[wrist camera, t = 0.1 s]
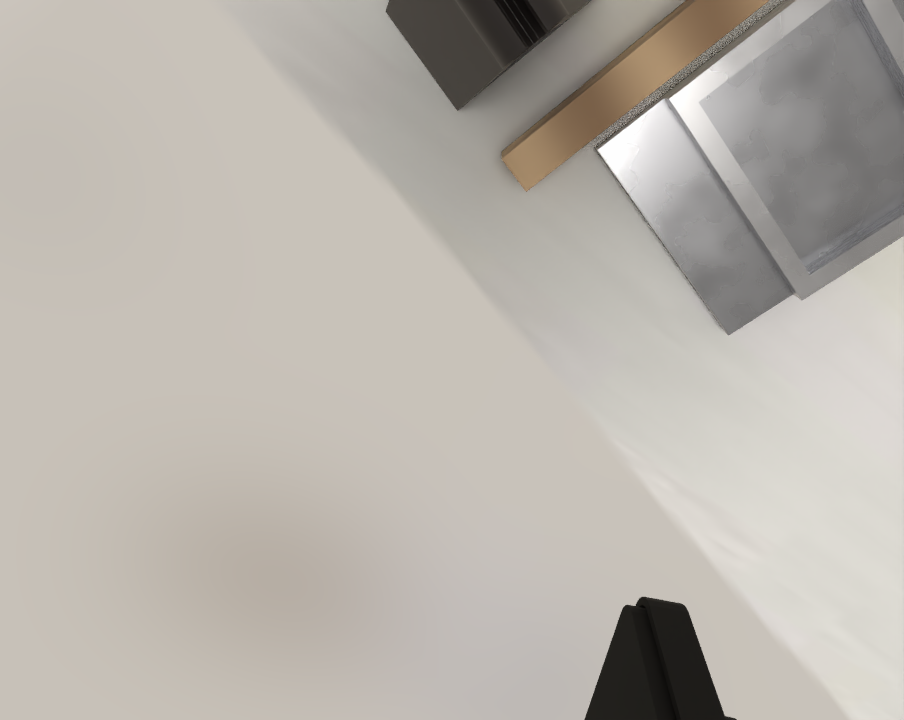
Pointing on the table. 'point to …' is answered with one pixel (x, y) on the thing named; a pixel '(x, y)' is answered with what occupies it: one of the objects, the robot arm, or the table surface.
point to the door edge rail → (623, 85)
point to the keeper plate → (776, 156)
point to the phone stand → (476, 37)
